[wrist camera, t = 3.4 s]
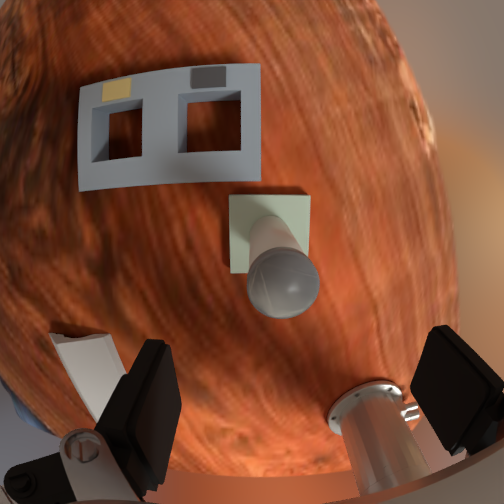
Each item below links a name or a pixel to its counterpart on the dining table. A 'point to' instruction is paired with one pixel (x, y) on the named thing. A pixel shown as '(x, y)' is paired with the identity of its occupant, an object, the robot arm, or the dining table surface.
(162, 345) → the robot arm
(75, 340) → the crown molding
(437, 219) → the dining table surface
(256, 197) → the square base plate
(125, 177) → the socket block
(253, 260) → the plug
